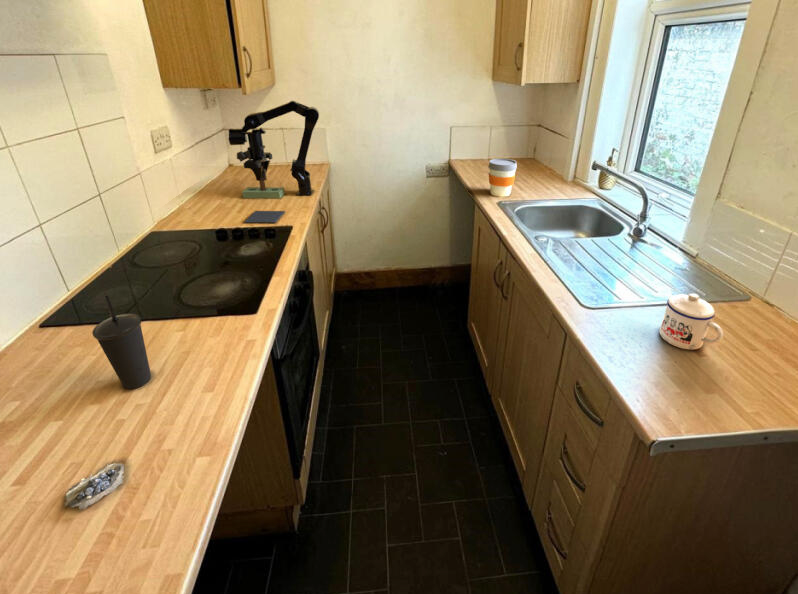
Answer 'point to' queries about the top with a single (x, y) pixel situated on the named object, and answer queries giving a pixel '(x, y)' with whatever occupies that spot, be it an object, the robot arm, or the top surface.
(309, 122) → the robot arm
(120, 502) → the top surface
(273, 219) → the mat
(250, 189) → the rack
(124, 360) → the drinking cup
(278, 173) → the top surface
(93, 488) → the blueberries
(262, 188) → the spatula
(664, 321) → the teacup with lid
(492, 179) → the reusable coffee cup
